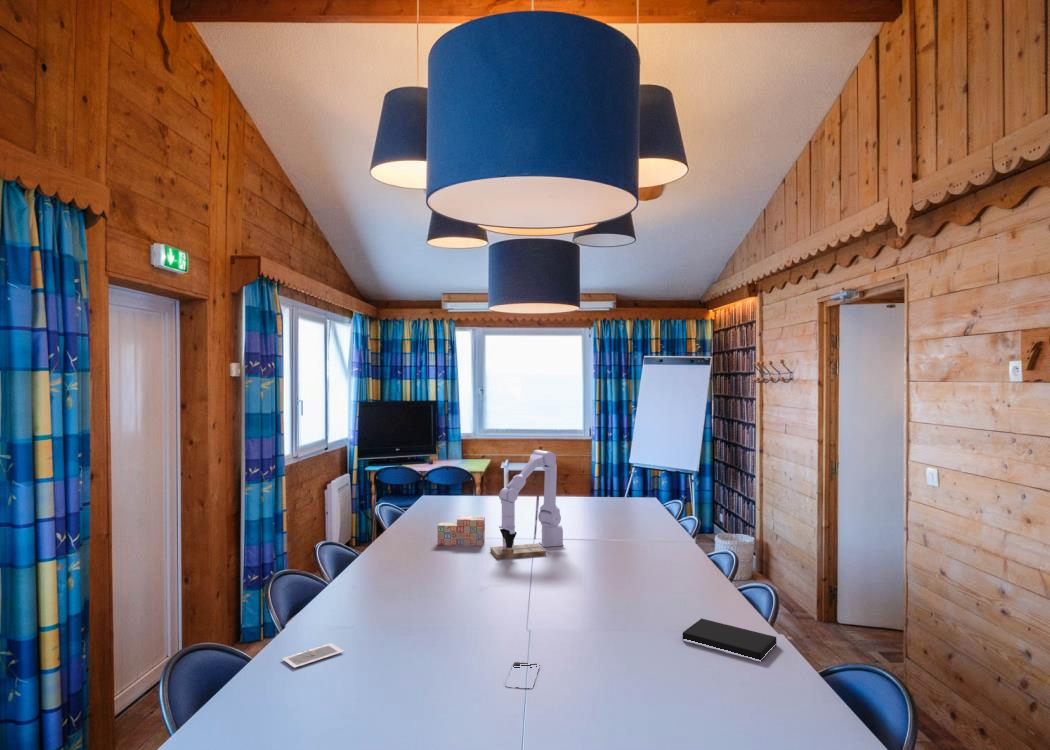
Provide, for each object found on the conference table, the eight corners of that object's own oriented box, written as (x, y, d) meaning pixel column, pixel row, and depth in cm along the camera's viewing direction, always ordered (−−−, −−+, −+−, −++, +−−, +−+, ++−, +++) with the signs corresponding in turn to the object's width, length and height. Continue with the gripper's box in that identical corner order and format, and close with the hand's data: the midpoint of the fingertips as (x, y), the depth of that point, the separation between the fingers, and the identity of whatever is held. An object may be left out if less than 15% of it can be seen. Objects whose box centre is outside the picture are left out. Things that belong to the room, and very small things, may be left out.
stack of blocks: (437, 545, 303) (437, 518, 303) (439, 541, 309) (439, 515, 309) (483, 546, 301) (483, 519, 301) (485, 542, 308) (485, 516, 308)
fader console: (537, 547, 299) (537, 540, 299) (546, 555, 287) (546, 548, 287) (490, 551, 292) (490, 544, 292) (497, 559, 281) (497, 551, 281)
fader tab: (511, 547, 291) (511, 536, 291) (513, 550, 287) (513, 538, 287) (502, 548, 290) (502, 537, 290) (504, 550, 286) (504, 539, 286)
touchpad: (344, 654, 188) (344, 647, 188) (294, 671, 178) (294, 663, 178) (331, 646, 194) (331, 639, 194) (281, 662, 183) (281, 654, 183)
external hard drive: (760, 663, 183) (760, 653, 183) (682, 642, 197) (682, 632, 197) (776, 646, 194) (776, 636, 194) (701, 627, 208) (701, 618, 208)
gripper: (495, 512, 294) (495, 542, 294) (503, 519, 280) (503, 551, 280) (510, 511, 296) (510, 541, 296) (519, 518, 282) (519, 550, 282)
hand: (508, 546), depth 288 cm, fingers closed on fader tab, 4 cm apart
